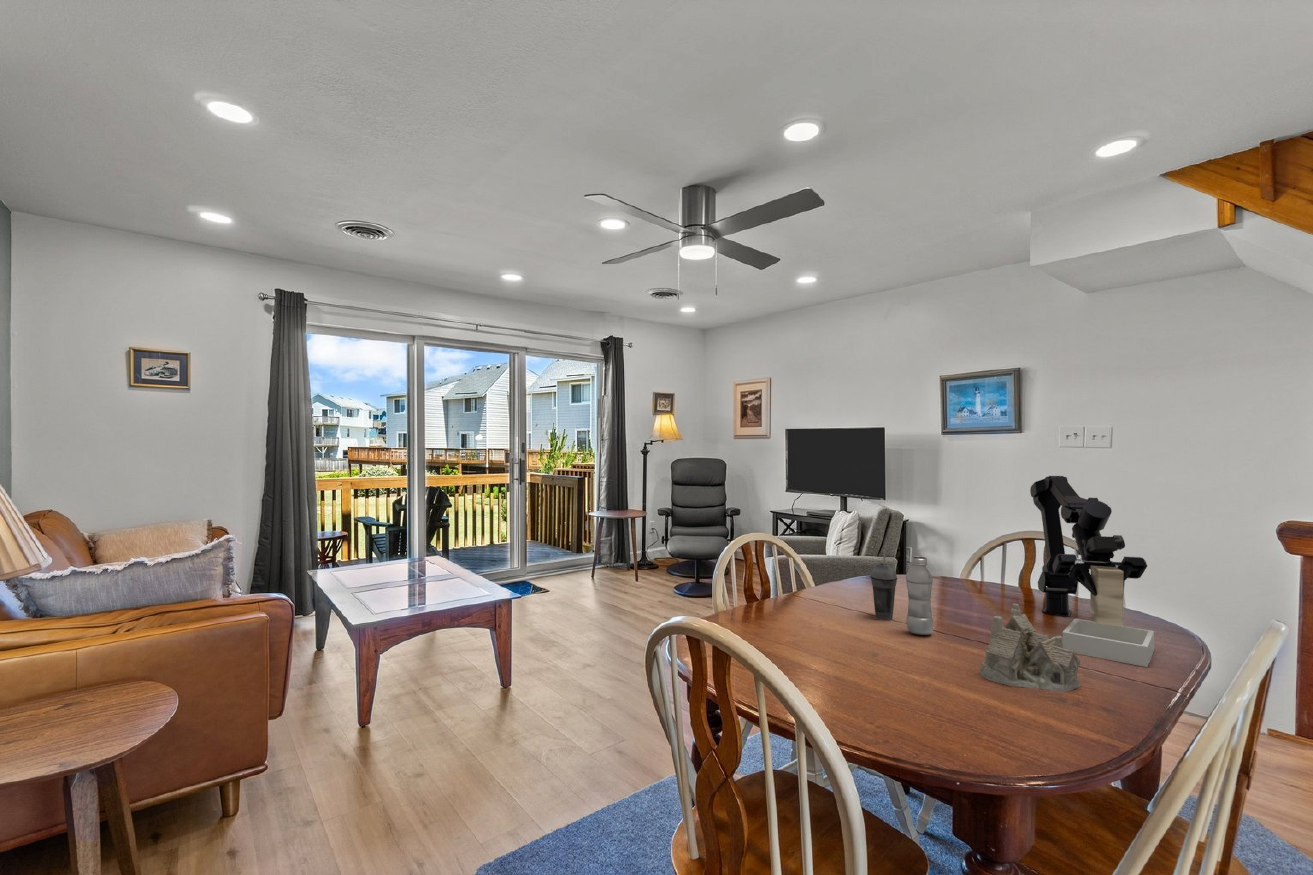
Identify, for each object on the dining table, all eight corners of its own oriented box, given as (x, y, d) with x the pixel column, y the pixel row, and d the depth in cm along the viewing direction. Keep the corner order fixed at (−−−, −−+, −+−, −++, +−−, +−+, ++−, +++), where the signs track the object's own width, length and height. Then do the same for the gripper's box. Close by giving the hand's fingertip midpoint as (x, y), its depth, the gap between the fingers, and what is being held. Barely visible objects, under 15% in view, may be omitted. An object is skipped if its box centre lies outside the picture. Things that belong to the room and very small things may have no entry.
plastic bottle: (938, 637, 157) (937, 560, 158) (911, 637, 158) (911, 559, 158) (927, 630, 164) (927, 555, 164) (902, 630, 164) (901, 555, 164)
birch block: (1090, 618, 151) (1090, 565, 151) (1113, 620, 150) (1114, 567, 150) (1098, 624, 146) (1098, 569, 146) (1122, 626, 145) (1123, 571, 145)
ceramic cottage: (967, 670, 134) (972, 603, 134) (1020, 663, 140) (1025, 598, 140) (1034, 703, 120) (1040, 627, 119) (1090, 693, 126) (1096, 621, 125)
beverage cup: (893, 614, 179) (893, 546, 179) (901, 622, 171) (900, 550, 172) (867, 614, 179) (867, 546, 180) (874, 621, 172) (873, 550, 172)
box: (1075, 635, 159) (1075, 618, 159) (1154, 649, 148) (1154, 631, 148) (1062, 650, 147) (1062, 632, 147) (1147, 667, 136) (1147, 646, 136)
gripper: (1056, 521, 154) (1073, 574, 144) (1143, 524, 149) (1167, 579, 139) (1045, 547, 162) (1061, 599, 151) (1128, 551, 157) (1150, 605, 146)
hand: (1108, 595), depth 147 cm, fingers closed on birch block, 5 cm apart
